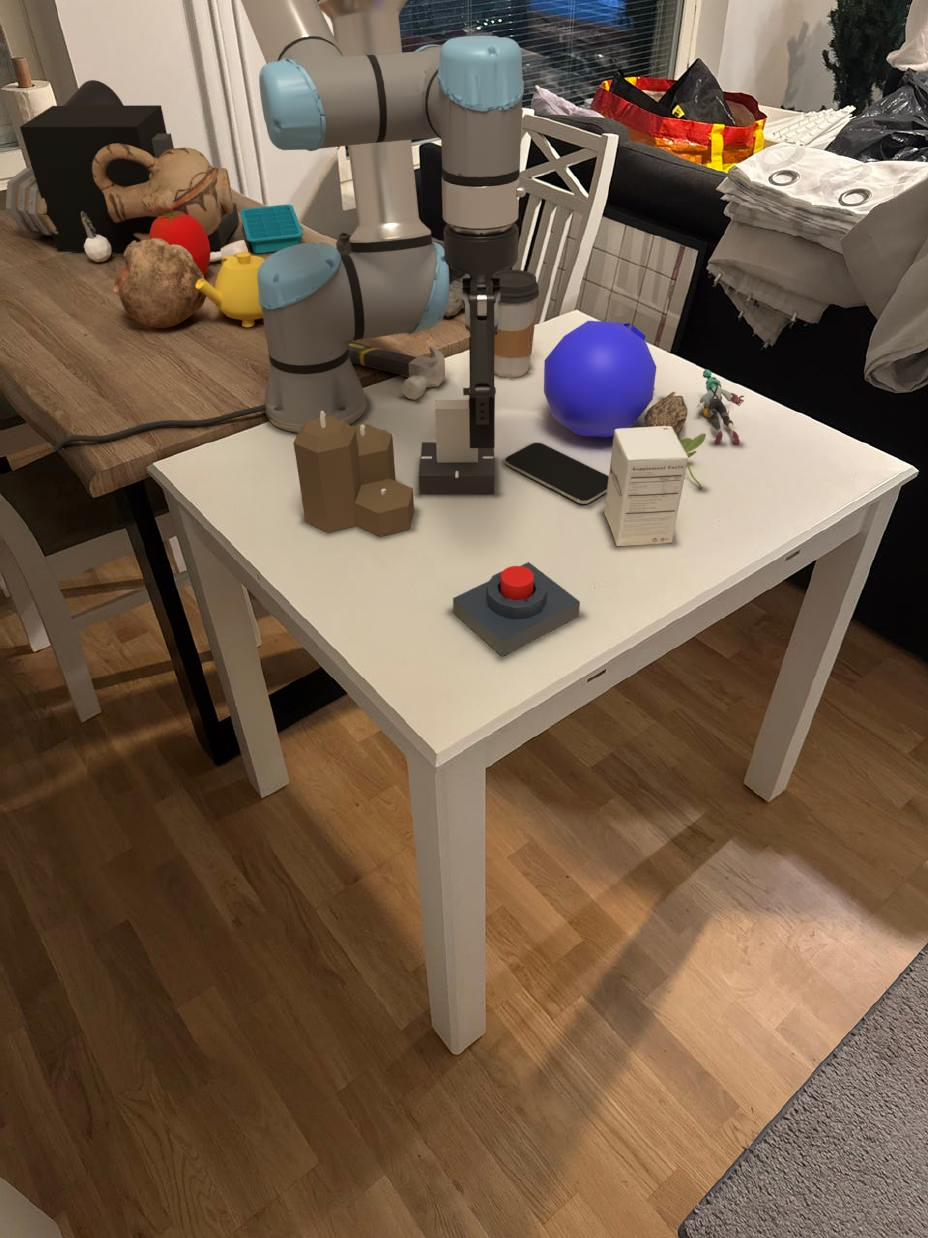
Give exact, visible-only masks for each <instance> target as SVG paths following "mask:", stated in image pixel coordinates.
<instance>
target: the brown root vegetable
mask: <svg viewBox="0 0 928 1238" xmlns="http://www.w3.org/2000/svg"><path fill="white" fill-rule="evenodd" d="M123 259H124V262H125V265H124V267H123V268H120V269H119V270H118V272H117V273H116V274H115V281H114V287H113V292H114V294H115V295H116V296H118V297H119V300H120V302H121V305H122V306H123V309H124V311H125V312H126V313H127V314H128V315H129V316H130V317H132V318H133V319H134V320H136V321H137V322H139V323H140V324H143V325H145V326H148V327H152V328H157V329H167V328H173V327H174V326H177V325H180V324H181V323H182V322H184V321H186V320H187V319H189V318H190V317H191V316H193V315H194V314H195V313H197V311H199V310H200V308H202V306H203V305H204V304H205V301H206V298H207V296H206V295H204V294H203V293H202V292H201V291H199V290H198V289H197V288H196V283H197V281H198V280H199V279H201V278H203V279H205V275H204V276H203V274H202V272H201V271H200V269H199V268H198V266H197V265H196V264H195V262H194V261H193V257H192V255H191V254H190V253H189V252H188V251H187V250H186V249H185V248H183V247H182V246H180V245H169V244H168V243H167V242H166V241H164V240H162V239H157V238H153V239H152V240H141V241H140V242H136V241H133V242H132V243H131V244H129V245H128V247H127V248H126V250H125V252H123Z"/></svg>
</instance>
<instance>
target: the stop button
mask: <svg viewBox="0 0 928 1238" xmlns="http://www.w3.org/2000/svg"><path fill="white" fill-rule="evenodd" d="M502 571H503V572H502ZM502 571H501V572H502V573H501V589H500V590H501V593H502V594H503V596H505V597H506V598H509V599H512V600H523V599H527V598H528V597H530V596H531V595H532V593H533V583H534V575H533V573H532V571H531V570H529V569H528V568H526V567H523V566H521V565H511V566H508V567H506V568H504V569H503V570H502Z"/></svg>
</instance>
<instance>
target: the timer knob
mask: <svg viewBox="0 0 928 1238" xmlns="http://www.w3.org/2000/svg"><path fill="white" fill-rule="evenodd" d="M434 405H435V406H434V407H435V409H434V411H435V412H434V414H435V416H434V417H435V442H436V451H437V463H460V462H478V448H470V434H469V399H435V403H434Z"/></svg>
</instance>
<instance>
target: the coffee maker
mask: <svg viewBox="0 0 928 1238" xmlns="http://www.w3.org/2000/svg"><path fill="white" fill-rule="evenodd" d="M19 129H20V132H21V137H22V139H23V142H24V145H25V150H26V152H27V155H28V159H29V162H31V166H32V169H33V172H34V175H35V179H36V182H37V185H38V189H39V192H40V195H41V198H44V200H45V202H46V205H47V213H46V215H48V216H49V218H50V219H51V221H52V222H53V224H54V226H55V227H56V231H57V232H58V234H55V232H56V231H55V232H54V233H52V235H53V236H52V238H53V241H54V244H55V248H56V251H57V252H58V253H86V252H85V248H84V244H85V242H86V239H87V238H88V236H87V233H86V229H85V226H84V228H83V224H82V219H81V212H82V213H84V212H85V213H86V214H87V216H88V218H89V219H90V220H91V223H92V226H93V227H94V228H95V230H96V231H95V234H96V235H100V236H103V237H105V238H106V239H107V240H108V242H109V244H110V245H111V249H112V252H113V253H118V252H119V253H124V252H125V250H126V248H127V247H128V245H129V244H131V243H132V242H133V241H136V242H140V241H141V240H140V239H139V238H137V237H135V236H134V233H137V232H139V233H143V234H149V233H150V229H151V226H152V223H153V222H154V221H155V220H156V219H157V218H158V217H151V216H143V217H137V218H130V219H127V220H124V221H121V222H114V221H113V219H112V218H111V216H110V214H109V212H108V208H107V204H106V200H105V196H104V194H103V192H102V191H101V190H100V188H99V187H98V186H97V184H96V183H95V181H94V178H93V172H92V164H93V160H94V158H95V156H96V154H97V153H98V151H99V150H101V149H102V148H103V147H105V146H107V145H110V144H117V143H118V144H125V145H130V146H133V147H136V148H139V149H141V150H144V151H146V152H147V153H149V154H150V155H152V156H153V157H154V158H159V157H160V155H161V154H163V153H164V152H165V151H167V150H169V149H173V148H175V146H174V141H173V136H172V133H167V127H166V122H165V118H164V113H163V107H162V105H160V104H159V105H158V104H157V105H153V104H152V105H149V104H148V105H147V104H145V105H144V104H143V105H138V104H137V105H132V104H131V105H124V106H64V105H51V106H50V107H48V108H47V109H45V110H44V111H42V112H41V113H39V114H38V115H36V116H34V117H33V118H31V119H30V120H28V121H27V122H25V123H23V124H22V125H20V126H19ZM150 173H151V172H150V171H149V169H148V168H147V167H146V166H144V165H143V164H140V163H138V162H135V161H132V160H127V159H116V160H113V161H111V162H110V163H109V164H108V166H107V168H106V173H105V174H106V175H107V177H108V178H109V179H110V180H111V181H112V182H113V183H114V184H116V185H119V186H122V187H128V186H133V185H137V184H141V183H145V182H147V181H149V180H150V179H149V175H150ZM232 205H233V212H232V214H226V215H224V216H223V217H222V219H221V223H220V225H219V227H218V228H217V229H216V230H215V231H214V232H213V233H212V234H210V235H208V236H207V237H208V240H209V245H210V250H221V248H223V247H225V246H226V243H227V242H228V240H229V238H230V237H231V236H232V234H233V232H234V230H235V228H237V226H238V224H239V223H240V218H239V213H238V206H237V203H236V202H234V203H233V202H232ZM86 218H87V217H86ZM112 252H111V253H112Z"/></svg>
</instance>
